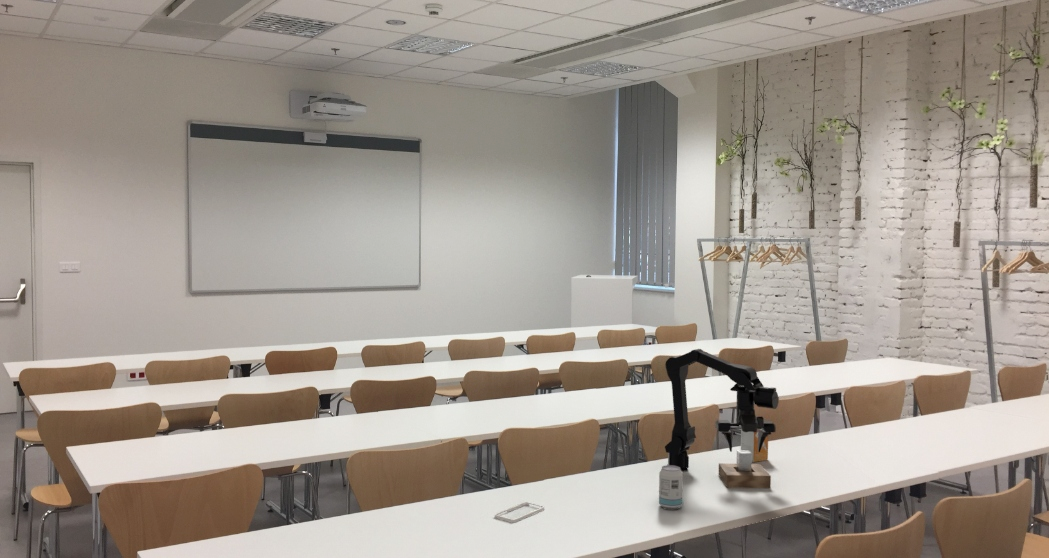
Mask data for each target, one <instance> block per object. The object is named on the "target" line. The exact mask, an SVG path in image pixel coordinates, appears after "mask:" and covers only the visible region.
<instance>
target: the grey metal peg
mask: <svg viewBox="0 0 1049 558" xmlns="http://www.w3.org/2000/svg"><path fill="white" fill-rule="evenodd" d="M736 464H737V465H736V471H737V472H751V464H753V462H752V453H751V452H750V451H749V450H741V449H737V450H736Z"/></svg>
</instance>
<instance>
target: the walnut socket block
mask: <svg viewBox="0 0 1049 558" xmlns="http://www.w3.org/2000/svg"><path fill="white" fill-rule="evenodd" d="M736 465H737V463H720V462H719V463H718V476H719V478H720V479H721V481H722V483H723V484H724V485H725V486H726V488H743V489H744V488H747V489H749V488H750V489H751V488H754V489H771V483H772V482H771V479H772V475H770V473H769V472H768V471H767V470H766V469H765V468H764V466H763V465H761V463H751V472H737V471H736Z"/></svg>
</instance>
